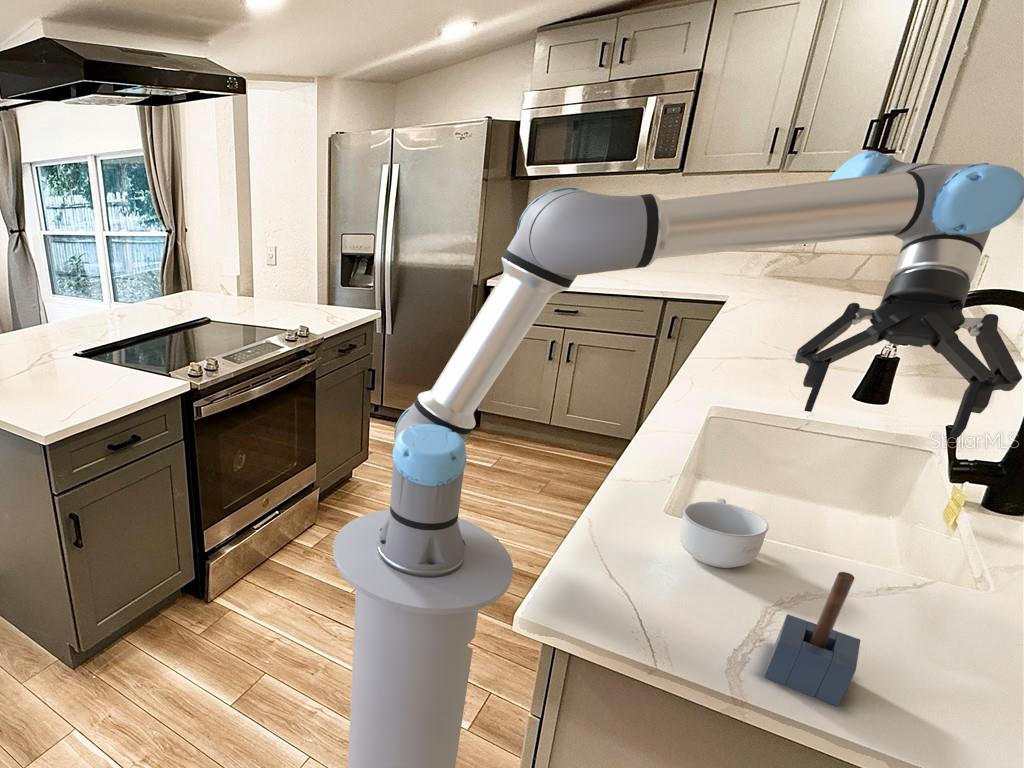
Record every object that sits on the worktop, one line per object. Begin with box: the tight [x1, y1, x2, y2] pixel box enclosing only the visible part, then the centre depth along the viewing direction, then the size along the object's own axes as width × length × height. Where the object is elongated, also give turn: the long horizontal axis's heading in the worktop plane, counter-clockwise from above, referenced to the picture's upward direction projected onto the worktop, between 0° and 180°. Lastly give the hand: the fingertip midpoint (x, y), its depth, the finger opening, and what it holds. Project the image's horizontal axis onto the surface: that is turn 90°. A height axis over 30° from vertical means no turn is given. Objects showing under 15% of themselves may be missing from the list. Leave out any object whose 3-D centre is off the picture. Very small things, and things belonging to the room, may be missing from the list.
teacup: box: [679, 497, 769, 569], centre depth 102 cm, size 14×11×8 cm
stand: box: [764, 613, 861, 708], centre depth 78 cm, size 7×7×6 cm
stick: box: [809, 571, 856, 648], centre depth 75 cm, size 1×1×17 cm
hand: (878, 419), depth 79 cm, fingers open, 13 cm apart
